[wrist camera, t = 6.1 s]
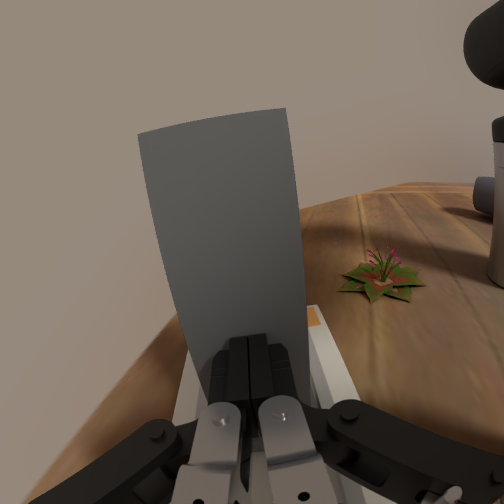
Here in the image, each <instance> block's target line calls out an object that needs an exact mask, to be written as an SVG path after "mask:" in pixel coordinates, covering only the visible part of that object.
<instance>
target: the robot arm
mask: <svg viewBox="0 0 504 504" xmlns="http://www.w3.org/2000/svg"><path fill="white" fill-rule="evenodd" d="M464 56H465V60H466V63H467V65H468V67H469V68H470V70H471V72H472V73H473V74H474V75H475V76H476V77H477V78H478V79H479V80H480V81H482V82H483V83H485V84H487V85H489V86H492V87H494V88H499V89H503V90H504V0H500V1H498V2H497V3H495V4H494V5H493V6H491V7H490V8H488V9H487V10H485V11H484V12H483V13H481V14H480V15H479V16H478V17H476V18H475V19H474V20H473V21H472V22H471V23H470V25H469V27H468V28H467V31H466V34H465V38H464ZM492 136H493V141H494V142H493V149H494V165H495V166H494V167H495V168H494V169H495V194H494V216H493V229H492V239H491V247H490V255H489V262H488V268H487V274H488V276H489V278H490V279H491V280H492V281H494V282H495V283H496V284H498V285H500V286H502V287H504V116H503V117H500V118H497V119H495V120H494V121H493V122H492ZM258 429H259V433H260V437H262V438H263V443H264V449H265V454H266V460H267V468H268V474H269V479H270V484H271V490H272V495H273V500H274V504H341V503H338V502H337V499H336V496H335V493H334V490H333V487H332V484H331V481H330V478H329V476H328V473H327V470H326V467H325V464H324V463H326V464H327V465H328V466H329V467H330V468H332V469H334V470H335V471H337V472H339V473H340V474H342V475H344V476H345V477H347V478H349V479H351V480H352V481H354V482H356V483H358V484H360V485H361V486H363V487H365V488H367V489H369V490H371V491H373V492H375V493H377V494H379V495H381V496H383V497H385V498H387V499H389V500H391V501H393V502H395V503H397V504H493V503H494V502H496V501H497V500H498V499H500V498H501V497H502V496H503V495H504V457H502V456H499V455H496V454H492V453H489V452H486V451H483V450H480V449H477V448H474V447H471V446H468V445H465V444H462V443H459V442H457V441H454V440H451V439H448V438H446V437H443V436H441V435H438V434H435V433H433V432H430V431H428V430H425V429H423V428H420V427H418V426H416V425H413V424H411V423H408V422H406V421H404V420H401V419H399V418H397V417H395V416H392V415H390V414H388V413H386V412H383V411H381V410H379V409H377V408H375V407H373V406H370V405H368V404H366V403H364V402H362V401H359V400H356V399H346V400H342V401H339V402H337V403H336V404H334V405H333V406H332V407H331V408H330V409H321V408H313V407H310V406H307V405H305V404H304V403H303V402H301V400H300V399H299V397H298V395H297V391H296V386H295V382H294V377H293V373H292V368H291V363H290V359H289V354H288V350H287V349H286V348H285V347H284V346H283V345H282V344H281V343H276V344H269V345H268V343H267V336H266V333H261V334H254V335H249V340H248V336H239V337H231V338H230V339H229V350H222V351H218V352H217V354H216V355H215V357H214V358H213V360H212V370H211V378H210V387H209V396H208V405H207V407H206V408H204V409H203V410H202V412H201V413H200V415H199V418H198V419H196V420H194V421H192V422H189V423H186V424H182V425H179V426H175V425H174V424H173V423H172V422H170V421H168V420H164V419H155V420H152V421H149V422H147V423H146V424H144V425H143V426H142V427H140V428H139V429H138V430H136V431H135V432H134V433H132V434H131V435H130V436H128V437H127V438H126V439H124V440H123V441H121V442H120V443H119V444H117V445H116V446H115V447H113V448H112V449H110V450H109V451H108V452H106V453H105V454H103V455H102V456H101V457H99V458H98V459H96V460H95V461H93V462H92V463H90V464H89V465H87V466H86V467H85V468H83V469H82V470H80V471H79V472H77V473H76V474H74V475H73V476H71V477H69V478H68V479H66V480H65V481H63V482H62V483H60V484H59V485H57V486H55V487H54V488H52V489H51V490H49V491H47V492H46V493H44V494H42V495H41V496H39V497H37V498H36V499H34V500H32V501H31V502H29V503H28V504H169V503H170V502H171V504H252V500H251V486H252V466H253V452H252V451H253V444H252V438H257V437H259V434H258Z"/></svg>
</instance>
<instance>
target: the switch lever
mask: <svg viewBox="0 0 504 504" xmlns="http://www.w3.org/2000/svg"><path fill="white" fill-rule="evenodd" d="M138 141H139V147H140V154H141V160H142V166H143V171H144V177H145V182H146V188H147V193H148V197H149V203H150V208H151V212H152V217H153V222H154V226H155V230H156V235H157V239H158V243H159V248H160V252H161V256H162V260H163V263H164V268H165V271H166V275H167V279H168V282H169V286H170V290H171V293H172V297H173V301H174V304H175V307H176V311H177V314H178V317H179V321H180V324H181V327H182V330H183V334H184V337H185V340H186V343H187V346H188V349H189V352H190V355H191V358H192V361H193V364H194V367H195V370H196V373H197V375H198V378H199V381H200V384H201V386H202V389H203V392H204V394H205V397H206V400H207V402H208V396H209V387H210V378H211V370H212V360H213V358H214V357H215V355H216V354H217V352H218V351H222V350H229V339H230V338H231V337H239V336H248V340H249V335H254V334H261V333H266V336H267V343H268V345H269V344H276V343H281V344H282V345H283V346H284V347H285V348H286V349H287V350H288V354H289V359H290V363H291V368H292V373H293V377H294V382H295V386H296V391H297V395H298V397H299V399H300V400H301V402H303V403H304V404H305V405H307V406H310V407H313V408H317V404H316V400H315V397H314V393H313V390H312V386H311V382H310V359H309V336H308V317H307V301H306V286H305V273H304V260H303V248H302V237H301V227H300V217H299V208H298V198H297V190H296V181H295V173H294V165H293V157H292V150H291V142H290V135H289V128H288V121H287V115H286V109H285V108H281V109H271V110H261V111H253V112H245V113H239V114H232V115H225V116H219V117H214V118H207V119H202V120H197V121H192V122H187V123H183V124H178V125H173V126H169V127H165V128H160V129H156V130H152V131H148V132H144V133H141V134H138ZM258 434H259V437H257V438H252V444H253V451H252V452H259V451H265V449H264V443H263V438H262V437H260V433H259V429H258Z"/></svg>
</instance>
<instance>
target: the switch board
mask: <svg viewBox="0 0 504 504" xmlns="http://www.w3.org/2000/svg"><path fill="white" fill-rule="evenodd" d="M307 317H308V336H309V359H310V382H311V386H312V390H313V393H314V397H315V400H316V404H317V408H321V409H330V408H331V407H332V406H333V405H334V404H336V403H337V402H339V401H342V400H346V399H356V400H359V401H361V400H360V398H359V395H358V393H357V391H356V389H355V386H354V384H353V382H352V379H351V377H350V375H349V373H348V370H347V368H346V366H345V364H344V361H343V359H342V357H341V355H340V352H339V350H338V348H337V346H336V344H335V341H334V339H333V337H332V335H331V333H330V331H329V328H328V326H327V324H326V322H325V320H324V318H323V316H322V313H321V311H320V309H319V307H318V305H311V306H307ZM207 405H208V402H207V400H206V397H205V394H204V392H203V389H202V386H201V384H200V381H199V378H198V375H197V373H196V370H195V367H194V364H193V361H192V358H191V355H190V352H189V349H188V352H187V357H186V361H185V365H184V369H183V374H182V378H181V383H180V387H179V391H178V396H177V401H176V405H175V410H174V414H173V419H172V423H173V424H174V425H175V426H179V425H182V424H186V423H189V422H192V421H194V420H196V419H198V418H199V415H200V413H201V412H202V410H203V409H204V408H206V407H207ZM324 464H325V467H326V470H327V473H328V476H329V478H330V481H331V484H332V487H333V490H334V493H335V496H336V499H337V502H338V503H341V504H397V503H395V502H393V501H391V500H389V499H387V498H385V497H383V496H381V495H379V494H377V493H375V492H373V491H371V490H369V489H367V488H365V487H363V486H361V485H360V484H358V483H356V482H354V481H352V480H351V479H349V478H347V477H345V476H344V475H342V474H340V473H339V472H337V471H335V470H334V469H332V468H330V467H329V466H328V465H327V464H326V463H324ZM251 500H252V504H274V500H273V495H272V490H271V484H270V479H269V474H268V468H267V460H266V454H265V451H259V452H253V466H252V486H251ZM169 504H171V502H170V503H169Z"/></svg>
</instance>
